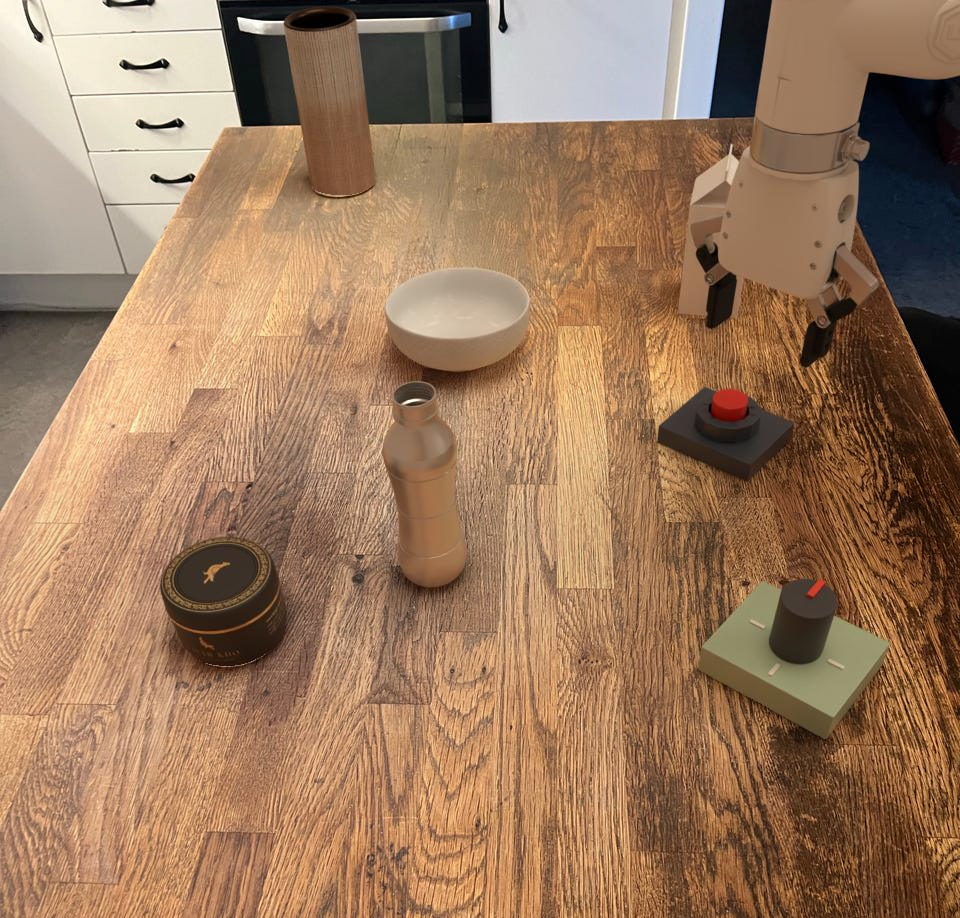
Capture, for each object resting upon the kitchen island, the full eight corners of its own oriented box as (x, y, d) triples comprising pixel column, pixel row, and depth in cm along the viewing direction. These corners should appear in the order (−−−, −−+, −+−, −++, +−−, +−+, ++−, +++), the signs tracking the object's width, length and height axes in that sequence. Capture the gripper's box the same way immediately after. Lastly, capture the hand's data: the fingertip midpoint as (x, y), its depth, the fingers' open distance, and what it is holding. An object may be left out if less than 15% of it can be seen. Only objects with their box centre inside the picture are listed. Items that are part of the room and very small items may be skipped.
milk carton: (675, 326, 122) (693, 168, 108) (682, 297, 126) (699, 142, 112) (735, 331, 120) (760, 172, 106) (739, 302, 125) (764, 145, 111)
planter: (309, 175, 156) (281, 10, 139) (372, 167, 157) (352, 2, 140) (313, 202, 150) (284, 33, 133) (379, 194, 150) (359, 24, 134)
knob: (807, 672, 81) (822, 623, 76) (758, 647, 83) (770, 599, 78) (832, 640, 83) (848, 591, 78) (785, 617, 85) (798, 568, 80)
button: (752, 410, 104) (755, 396, 102) (734, 427, 102) (736, 413, 101) (722, 398, 105) (724, 384, 104) (704, 415, 104) (706, 400, 102)
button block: (790, 439, 106) (798, 407, 103) (747, 482, 102) (753, 450, 99) (702, 403, 111) (706, 372, 108) (656, 442, 107) (660, 411, 104)
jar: (165, 670, 88) (139, 610, 82) (201, 590, 95) (180, 530, 89) (274, 678, 87) (255, 618, 81) (303, 597, 93) (287, 536, 88)
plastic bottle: (481, 561, 96) (470, 382, 81) (444, 606, 92) (425, 427, 77) (425, 540, 98) (404, 362, 83) (386, 583, 94) (357, 405, 79)
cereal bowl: (551, 332, 122) (552, 278, 117) (496, 406, 112) (494, 350, 107) (429, 307, 128) (424, 255, 122) (365, 376, 118) (357, 322, 112)
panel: (881, 666, 85) (891, 641, 82) (825, 740, 80) (834, 716, 77) (756, 603, 90) (762, 578, 88) (696, 669, 85) (701, 645, 83)
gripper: (931, 153, 73) (874, 357, 86) (733, 100, 82) (707, 292, 94) (880, 188, 70) (828, 395, 83) (679, 129, 78) (659, 325, 91)
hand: (763, 340), depth 89 cm, fingers open, 9 cm apart
